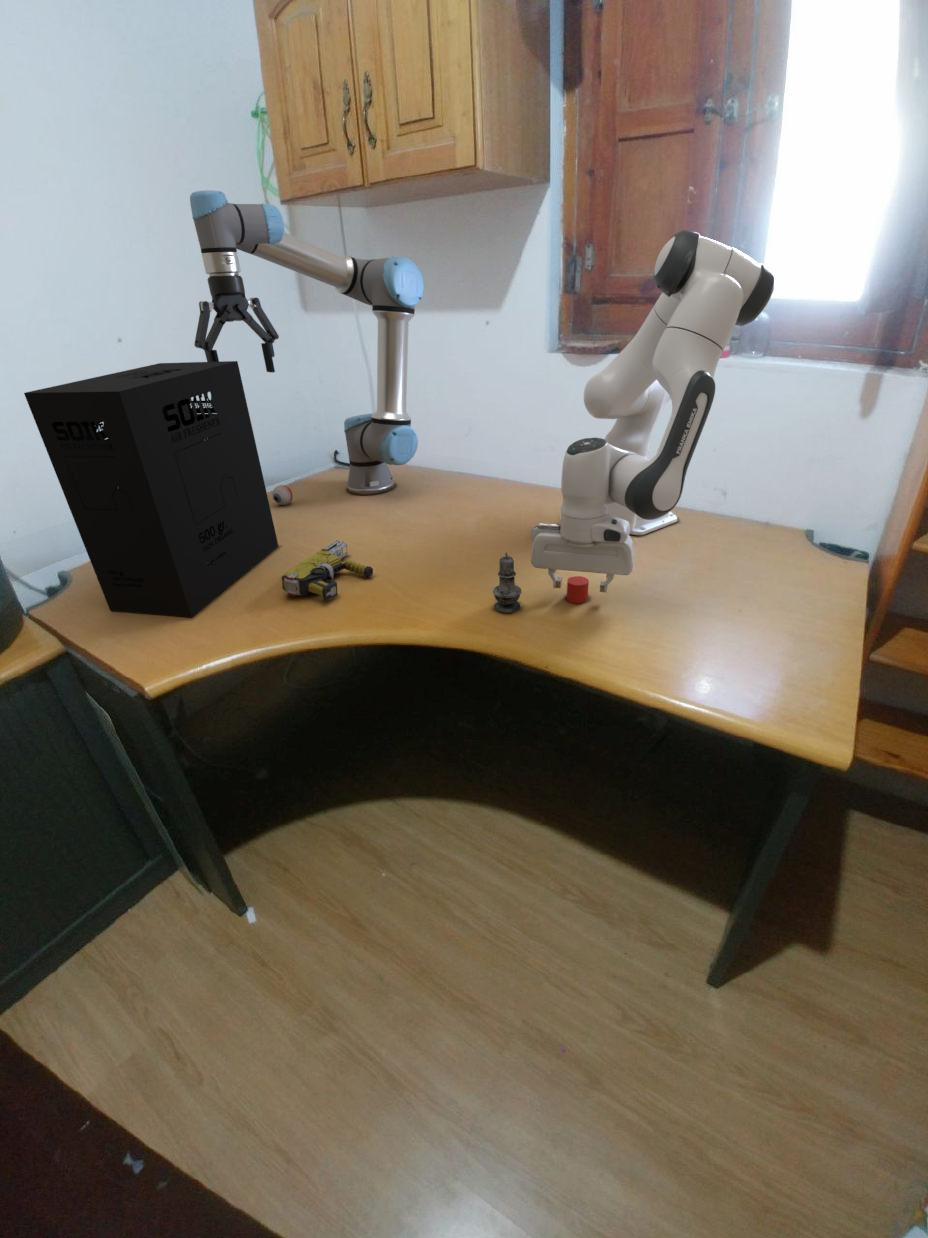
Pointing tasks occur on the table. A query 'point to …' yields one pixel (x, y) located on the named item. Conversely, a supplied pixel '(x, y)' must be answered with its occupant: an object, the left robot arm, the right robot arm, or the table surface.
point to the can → (577, 589)
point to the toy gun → (321, 572)
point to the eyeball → (282, 495)
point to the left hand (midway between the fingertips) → (245, 375)
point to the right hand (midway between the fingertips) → (580, 589)
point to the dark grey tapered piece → (507, 586)
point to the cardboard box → (160, 481)
